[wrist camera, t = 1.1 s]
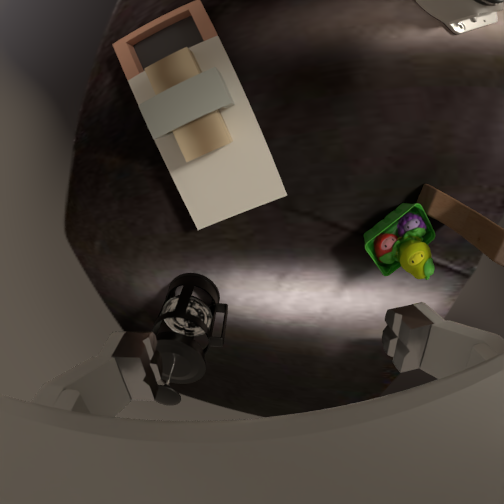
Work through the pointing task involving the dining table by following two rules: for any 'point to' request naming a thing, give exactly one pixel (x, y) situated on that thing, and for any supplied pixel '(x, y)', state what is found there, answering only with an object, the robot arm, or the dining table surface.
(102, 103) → the dining table surface
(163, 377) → the french press
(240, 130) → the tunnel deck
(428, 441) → the robot arm
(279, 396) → the dining table surface
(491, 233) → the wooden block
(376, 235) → the fruit basket
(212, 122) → the maple bar
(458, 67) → the dining table surface
